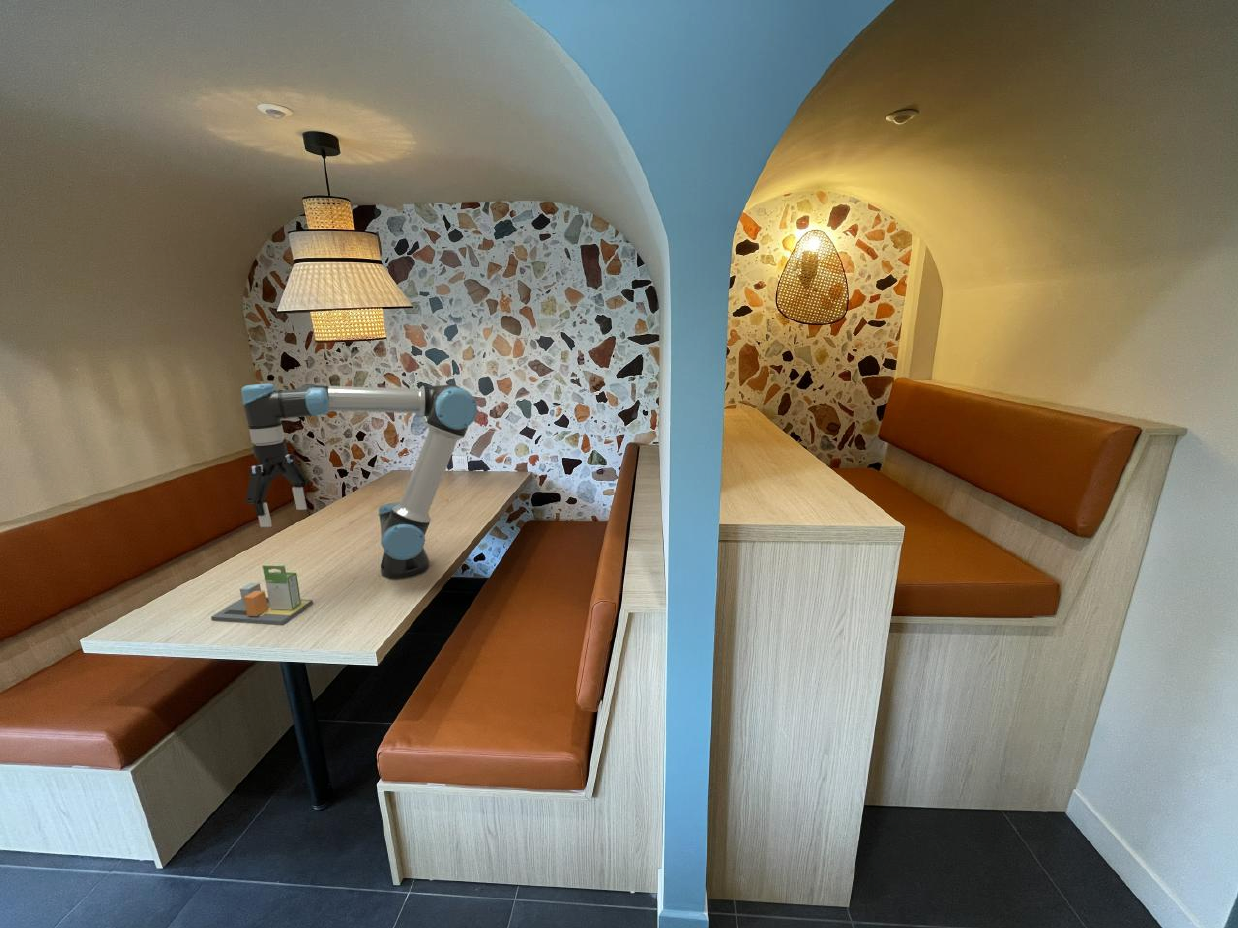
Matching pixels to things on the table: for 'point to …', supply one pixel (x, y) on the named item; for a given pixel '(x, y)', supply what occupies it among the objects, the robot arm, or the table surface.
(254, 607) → the lever
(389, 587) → the table surface
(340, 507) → the table surface
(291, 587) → the ink box
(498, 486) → the table surface
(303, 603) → the pad
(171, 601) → the table surface
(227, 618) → the panel
